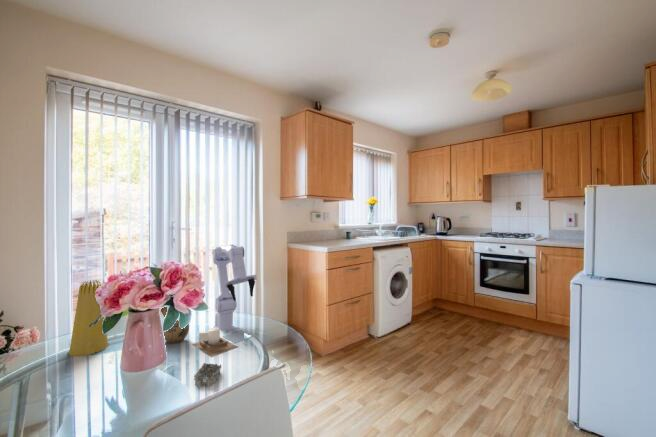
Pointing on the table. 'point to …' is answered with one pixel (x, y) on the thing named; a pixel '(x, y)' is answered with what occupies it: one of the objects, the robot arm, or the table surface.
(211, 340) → the jug
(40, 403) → the table surface
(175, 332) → the ceramic vessel
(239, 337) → the mat
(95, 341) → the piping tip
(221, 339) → the tray
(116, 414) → the table surface
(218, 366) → the grey speckled lump
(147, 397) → the table surface
